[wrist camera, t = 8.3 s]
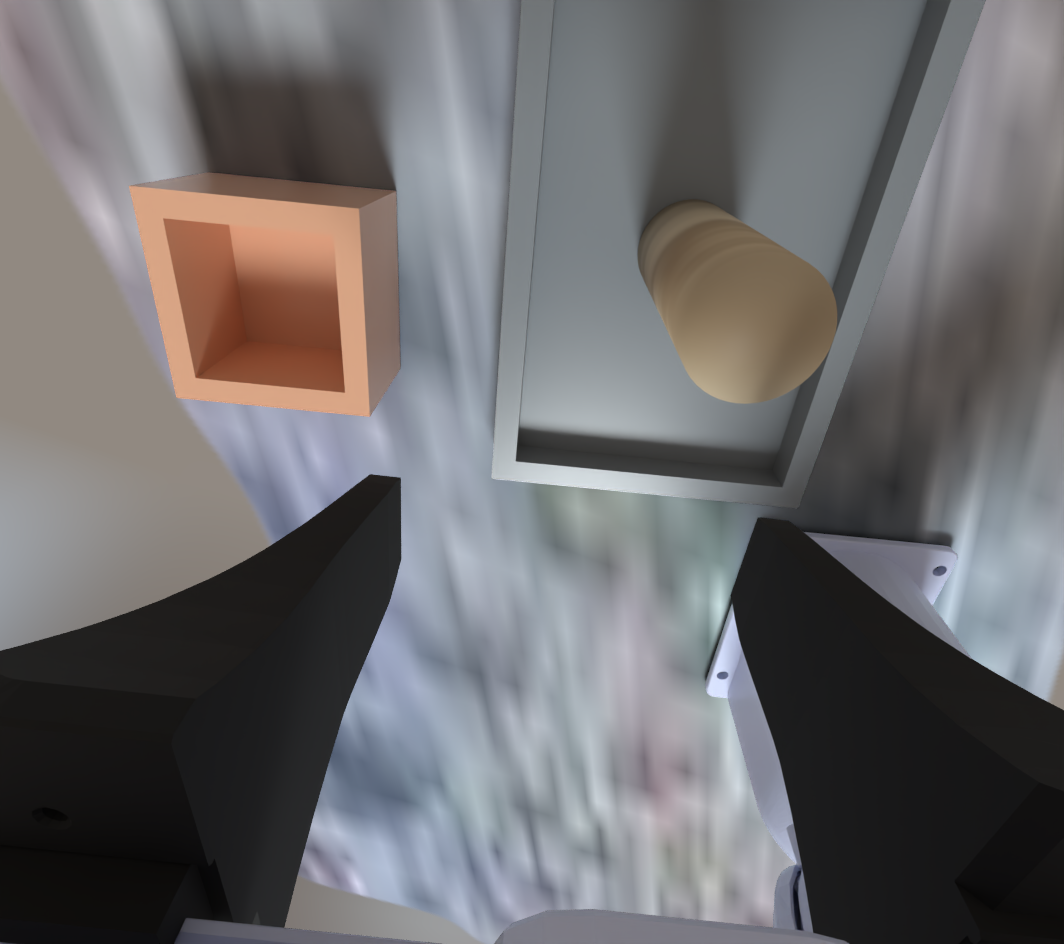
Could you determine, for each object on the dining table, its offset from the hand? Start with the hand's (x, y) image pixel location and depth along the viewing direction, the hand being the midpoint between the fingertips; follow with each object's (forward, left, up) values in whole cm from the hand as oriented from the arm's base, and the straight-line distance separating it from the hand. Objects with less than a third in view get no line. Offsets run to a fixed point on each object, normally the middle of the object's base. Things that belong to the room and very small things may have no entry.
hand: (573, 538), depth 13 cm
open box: (+2, +9, -10) cm, 14 cm away
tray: (+4, -3, -10) cm, 12 cm away
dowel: (+4, -3, -10) cm, 11 cm away
